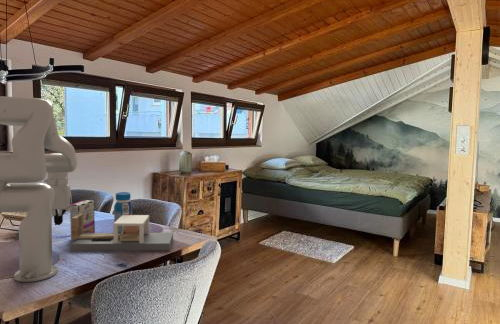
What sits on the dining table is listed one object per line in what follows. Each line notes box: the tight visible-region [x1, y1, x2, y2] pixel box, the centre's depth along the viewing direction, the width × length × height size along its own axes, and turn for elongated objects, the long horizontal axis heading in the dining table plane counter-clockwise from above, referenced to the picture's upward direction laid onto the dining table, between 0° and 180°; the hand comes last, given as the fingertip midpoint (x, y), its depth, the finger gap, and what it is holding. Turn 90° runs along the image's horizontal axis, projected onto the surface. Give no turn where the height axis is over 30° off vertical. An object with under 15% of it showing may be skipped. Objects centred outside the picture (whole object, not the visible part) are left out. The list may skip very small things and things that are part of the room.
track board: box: [69, 214, 174, 252], centre depth 153 cm, size 16×40×12 cm, turn 97°
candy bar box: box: [69, 199, 96, 241], centre depth 162 cm, size 11×5×16 cm, turn 168°
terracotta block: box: [125, 226, 139, 234], centre depth 153 cm, size 5×5×5 cm
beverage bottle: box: [113, 191, 133, 233], centre depth 169 cm, size 8×8×20 cm
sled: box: [70, 214, 139, 241], centre depth 152 cm, size 10×28×10 cm, turn 97°
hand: (58, 224), depth 149 cm, fingers closed
